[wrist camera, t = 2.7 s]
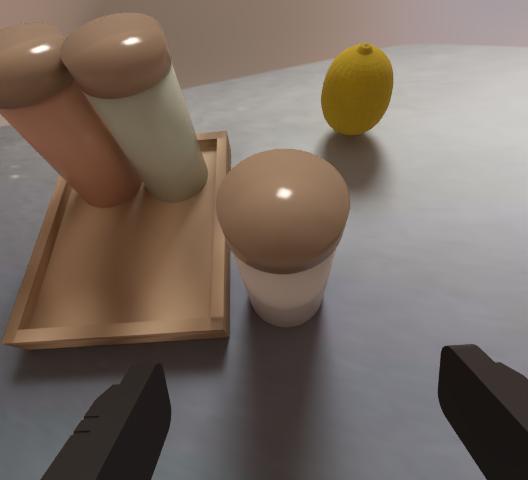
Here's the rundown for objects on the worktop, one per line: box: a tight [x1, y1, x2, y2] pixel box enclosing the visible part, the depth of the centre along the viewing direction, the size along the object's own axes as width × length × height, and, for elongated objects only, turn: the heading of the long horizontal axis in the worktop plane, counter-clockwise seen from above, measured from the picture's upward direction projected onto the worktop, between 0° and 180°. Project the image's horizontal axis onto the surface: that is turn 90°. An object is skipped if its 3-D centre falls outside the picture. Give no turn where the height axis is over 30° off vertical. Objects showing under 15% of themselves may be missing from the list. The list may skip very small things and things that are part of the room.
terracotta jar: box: [0, 23, 142, 208], centre depth 21 cm, size 5×5×11 cm
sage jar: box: [60, 13, 208, 203], centre depth 21 cm, size 5×5×11 cm
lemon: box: [321, 43, 393, 135], centre depth 26 cm, size 6×6×8 cm
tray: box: [1, 131, 231, 350], centre depth 24 cm, size 14×17×2 cm
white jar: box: [216, 149, 350, 327], centre depth 17 cm, size 5×5×11 cm
